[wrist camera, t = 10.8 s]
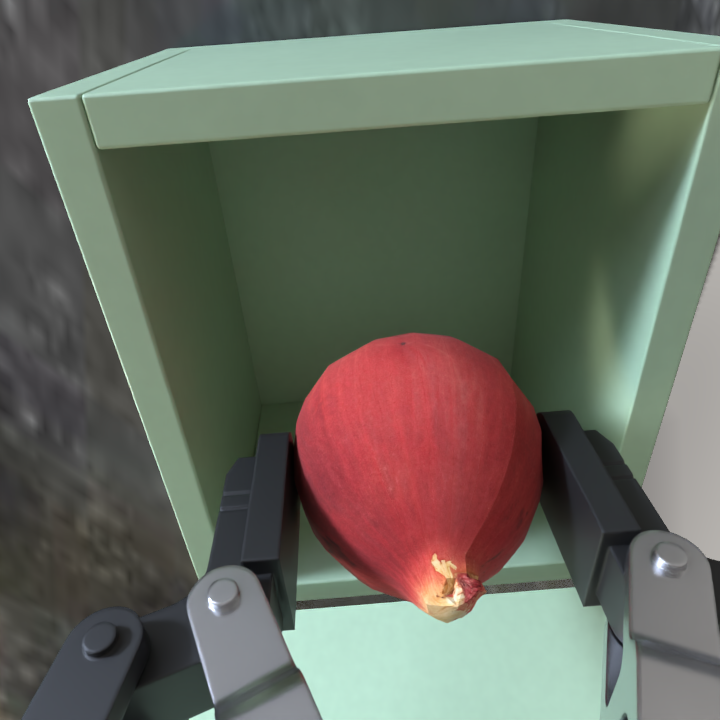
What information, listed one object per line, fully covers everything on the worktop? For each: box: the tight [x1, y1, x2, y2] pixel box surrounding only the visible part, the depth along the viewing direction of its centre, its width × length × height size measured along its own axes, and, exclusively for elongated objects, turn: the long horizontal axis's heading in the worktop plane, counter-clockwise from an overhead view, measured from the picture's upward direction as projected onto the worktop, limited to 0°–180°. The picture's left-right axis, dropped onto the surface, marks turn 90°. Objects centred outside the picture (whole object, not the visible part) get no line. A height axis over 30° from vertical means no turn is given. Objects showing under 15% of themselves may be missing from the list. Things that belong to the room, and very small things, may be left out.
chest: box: [28, 19, 720, 601], centre depth 19 cm, size 16×14×11 cm
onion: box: [294, 332, 543, 623], centre depth 13 cm, size 6×6×8 cm
